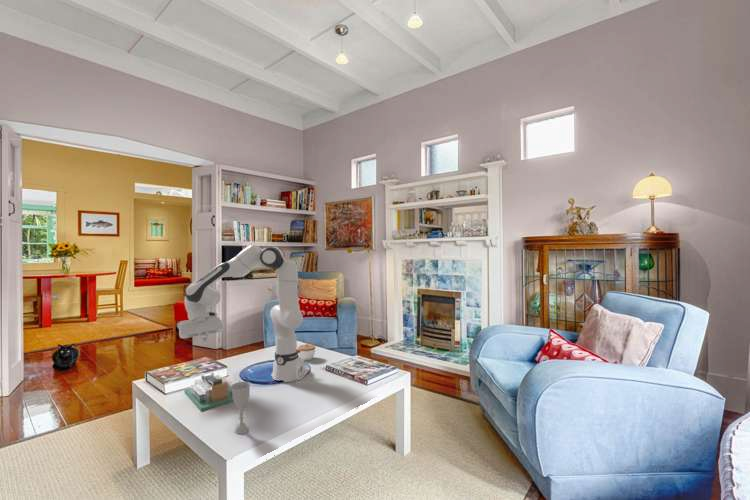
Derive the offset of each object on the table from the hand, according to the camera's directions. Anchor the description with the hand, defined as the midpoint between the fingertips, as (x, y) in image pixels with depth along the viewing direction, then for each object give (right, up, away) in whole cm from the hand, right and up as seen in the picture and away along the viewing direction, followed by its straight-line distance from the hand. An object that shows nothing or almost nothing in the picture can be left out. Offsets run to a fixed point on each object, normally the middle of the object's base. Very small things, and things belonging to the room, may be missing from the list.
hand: (204, 341), depth 176 cm
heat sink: (+7, -23, -6) cm, 25 cm away
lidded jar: (+42, -23, +45) cm, 66 cm away
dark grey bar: (+7, -17, -7) cm, 20 cm away
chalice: (+32, -25, -38) cm, 56 cm away
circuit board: (+7, -24, -6) cm, 26 cm away
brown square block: (+13, -23, -13) cm, 30 cm away
